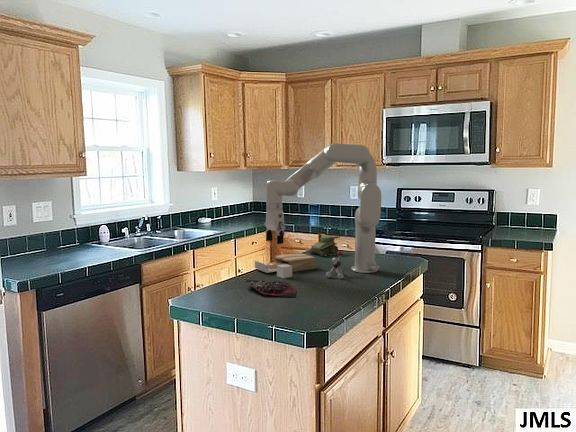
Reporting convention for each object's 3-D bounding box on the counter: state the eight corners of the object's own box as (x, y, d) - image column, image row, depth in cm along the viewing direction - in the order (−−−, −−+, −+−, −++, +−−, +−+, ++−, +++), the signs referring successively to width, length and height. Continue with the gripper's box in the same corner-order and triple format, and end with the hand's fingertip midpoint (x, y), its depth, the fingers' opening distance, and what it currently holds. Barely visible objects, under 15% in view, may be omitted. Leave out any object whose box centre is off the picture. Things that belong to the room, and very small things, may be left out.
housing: (315, 268, 238) (315, 257, 237) (290, 272, 229) (290, 261, 229) (299, 262, 249) (299, 252, 248) (274, 266, 241) (274, 255, 240)
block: (292, 276, 221) (292, 265, 220) (283, 278, 218) (283, 267, 217) (286, 274, 225) (286, 263, 224) (277, 275, 222) (277, 265, 222)
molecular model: (324, 278, 219) (325, 255, 218) (331, 272, 230) (331, 250, 229) (342, 279, 216) (343, 256, 215) (348, 273, 228) (348, 251, 226)
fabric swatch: (248, 283, 209) (248, 276, 209) (297, 286, 208) (297, 278, 208) (240, 296, 190) (241, 288, 189) (295, 299, 189) (295, 291, 188)
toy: (345, 253, 276) (345, 235, 274) (322, 257, 264) (322, 239, 263) (332, 250, 283) (332, 233, 282) (309, 254, 271) (309, 236, 270)
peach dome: (284, 267, 231) (284, 264, 231) (271, 269, 227) (271, 266, 227) (277, 265, 237) (277, 261, 237) (264, 266, 234) (264, 263, 233)
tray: (292, 268, 232) (292, 261, 231) (266, 272, 224) (266, 265, 223) (280, 264, 241) (280, 257, 240) (255, 268, 233) (254, 261, 232)
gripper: (291, 207, 224) (291, 244, 226) (271, 204, 238) (271, 238, 240) (277, 208, 219) (277, 245, 222) (258, 205, 234) (258, 240, 236)
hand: (274, 242), depth 231 cm, fingers open, 9 cm apart
